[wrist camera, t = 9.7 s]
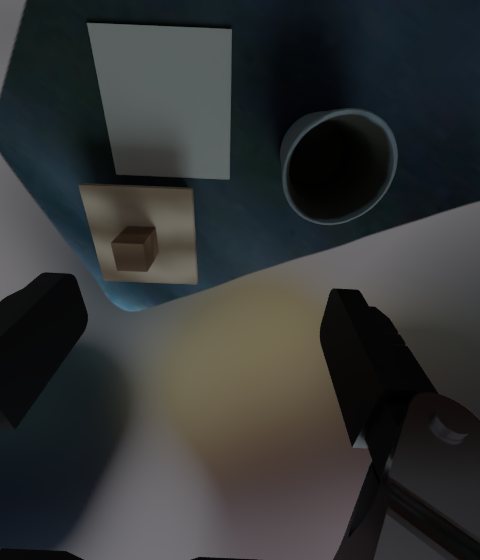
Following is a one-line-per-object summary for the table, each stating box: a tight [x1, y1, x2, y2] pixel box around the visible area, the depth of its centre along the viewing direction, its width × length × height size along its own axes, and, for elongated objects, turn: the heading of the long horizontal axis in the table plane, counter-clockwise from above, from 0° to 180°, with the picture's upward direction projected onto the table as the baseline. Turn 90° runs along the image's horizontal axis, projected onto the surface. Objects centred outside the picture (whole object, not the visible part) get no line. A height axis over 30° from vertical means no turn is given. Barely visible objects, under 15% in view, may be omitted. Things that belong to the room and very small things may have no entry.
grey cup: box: [280, 108, 398, 225], centre depth 30 cm, size 10×10×12 cm
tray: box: [87, 23, 232, 179], centre depth 33 cm, size 15×15×1 cm
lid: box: [79, 183, 198, 284], centre depth 33 cm, size 13×13×6 cm
